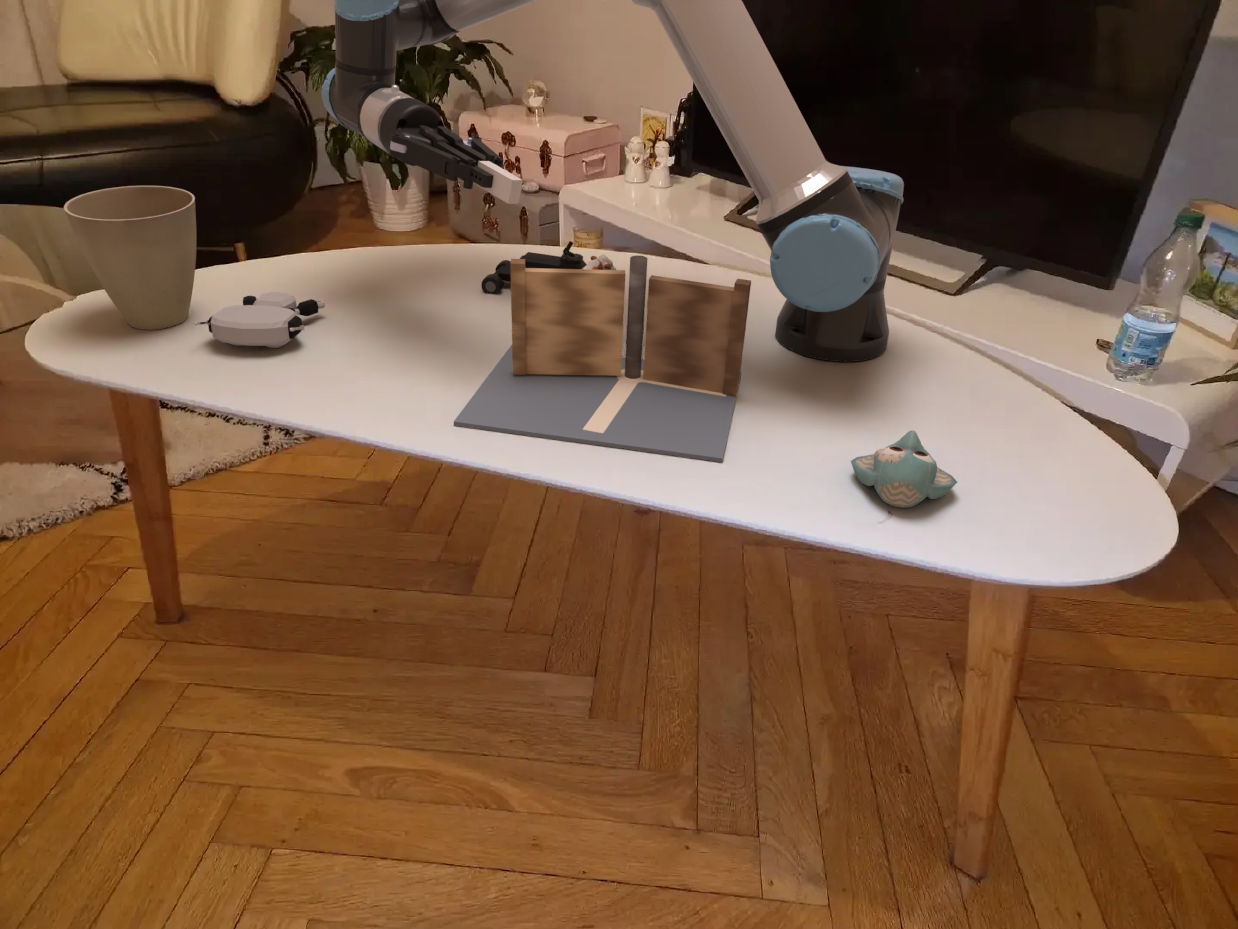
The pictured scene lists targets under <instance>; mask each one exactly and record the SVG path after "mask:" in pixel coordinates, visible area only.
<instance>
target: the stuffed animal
mask: <svg viewBox="0 0 1238 929" xmlns="http://www.w3.org/2000/svg"><path fill="white" fill-rule="evenodd" d="M850 464H851V466H852V469H853V472H854V475H855V477H856V478H857V479H858V481H859V482H860V484H862V485H865V486H867V487H871V486H874V489H875V491H876V493H877V495H878V496H879V497H880V498H881V500H882V501H883V502H884V503H885V504H888V505H890V506H893V507H896V508H904V509H906V508H913V507H915V506H916V505H918V504H919V503H921V502H923V501H924V500H925V499H926V498H929V499H930V500H935V499H936V500H938V499H941V498H942V497H944V496H945V495H947V494H948V492H950V491H951V490H952V488H954V486H955V485H956V484H958V481H957V480H956V478H955V477H954V476H953V475H952V474H950V473H948V472H946V471H944V470H943V469H941V468H939V467H938V464H937V461H936V460H935V459H934V458H933V456H932V455H931V454H930V453H929V452H928V450H926V449H925V447H924V446H923V444H922V442H921V440H920V438H919V436H918V433H917V432H916V431H915V430H913V429H912V430H911V429H910V430H909V431H907V432H906V433H905V434H904V435H903V436H902V437H901V438H900V439H899V440H898V441H896V442H894V443H892V444H890V445H887V446H886V447H884V448H879V449H876V451H875V452H874V453H873V454H869V455H868V454H867V455H862V456H857V457H855V458H853V459H852V460H850Z"/></svg>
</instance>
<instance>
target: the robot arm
mask: <svg viewBox="0 0 1238 929" xmlns="http://www.w3.org/2000/svg"><path fill="white" fill-rule="evenodd" d="M538 1H539V0H334V4H333V7H334V27H335V28H334V30H335V31H334V32H335V33H334V34H335V35H334V36H335V39H334V41H335V64H334V68H332V69H331V70H330V71H329V72H328V73H327V74H326V76H325V77H326V78H325V79H324V81H323V84H322V86H321V100H322V104H323V105H324V108H325V110H326V111H327V112H328V114H329V115H330V116H331V117H332V118H334V119H335V120H336V121H338V124H340V125H341V126H342V127H344V128H346V129H347V130H349V131H352V132H353V133H356V134H358V135H360V136H361V137H363V138H364V139H366V140H367V141H369V142H370V143H372V144H374V145H375V146H376V147H378V148H380V149H381V150H383V151H384V152H386V153H387V154H389V156H390V157H392V158H396V159H397V160H399V161H401V162H402V163H403V164H406V165H408V166H413V167H414V166H415V167H416V166H417V167H419V168H420V169H424V170H426V171H428V172H430V173H433V174H435V175H437V176H440V177H442V178H445V179H447V180H449V181H450V182H456V181H458V178H459V179H460V180H461V181H463V185H462V187H463V189H467V190H472V189H473V187H474V184H475V185H476V186H478V187H479V188H481V189H483V190H484V191H486V192H488V193H489V194H490V195H493V196H494V197H496V198H498V199H499V200H501V201H503V202H504V203H506V204H508V205H513V204H514V205H517V204H520V199H521V193H522V186H523V181H524V180H523V179H522V178H519V177H518V176H517V175H515V174H513V173H511V172H509V171H507V170H506V169H504V168H503V167H504V166H503V165H504V158H502V157H501V156H500V155H499V154H498V153H496V152H495V151H494V150H493V149H491V148H490V147H489V146H487V144H485V143H484V142H483V140H482V137H481V136H479V135H472V136H471V137H467V140H464V139H463V138H462V137H461V136H460V135H458V134H457V133H456V132H452V130H451V129H450V128H448V127H446V126H445V124H444V121H443V119H442V117H441V115H440V113H439V112H438V111H437V110H436V109H434V108H433V107H431V106H429V105H428V104H426V103H424V102H422V101H420V100H418V99H416V98H414V97H412V96H410V95H409V94H407V93H404V92H403V91H401V90H400V87H399V85H397V84H396V83H395V82H396V72H397V69H396V68H397V67H396V66H397V51H401V50H407V49H412V48H415V47H421V46H426V45H431V46H432V45H438V44H440V43H444V42H446V41H448V40H449V39H452V38H453V37H454V36H455V35H456V34H458V33H460V32H463V31H465V30H468V29H470V28H473V27H475V26H478V25H481V24H482V23H485V22H487V21H489V20H493V19H495V18H497V17H500V16H502V15H503V16H504V15H505V14H508V13H510V12H513V11H515V10H517V9H520V8H523V7H525V6H528V5H531V4H533V3H535V2H538ZM631 1H632V3H633V4H634V5H637V6H640V7H644V8H647V9H648V8H649V9H651V10H652V11H654V13H655V15H656V16H657V18H658V21H659V22H660V24H661V26H662V27H663V30H664V31H665V33H666V35H667V37H668V39H669V40H670V42H671V44H672V46H673V47H674V49H675V51H676V53H677V54H678V57H679V58H680V60H681V62H682V64H683V66H684V68H685V69H686V71H687V73H688V74H689V76H690V78H691V81H692V83H693V84H694V85H695V87H696V90H697V91H698V93H699V95H700V97H701V98H702V100H703V102H704V103H705V105H706V108H707V110H708V111H709V113H710V114H711V117H712V118H713V120H714V122H715V124H716V126H717V127H718V129H719V131H720V133H721V135H722V136H723V138H724V140H725V142H726V144H727V146H728V147H729V149H730V150H731V153H732V154H733V157H734V158H735V160H736V162H737V165H739V167H740V169H741V170H742V173H743V174H744V176H745V178H746V180H747V182H748V183H749V186H750V187H751V189H752V191H753V193H754V195H755V196H756V198H757V199H758V208H757V213H756V218H755V224H756V227H757V228H758V229H759V231H760V233H761V235H762V237H763V238H764V240H765V241H766V245H767V246H768V247H769V250H770V252H771V253H770V258H769V265H770V266H769V267H770V268H769V269H770V274H771V278H772V280H773V283H774V285H775V287H776V288H777V290H778V291H779V292H780V294H781V295H782V296H783V297H784V298H785V301H784V303H783V305H782V308H781V310H780V311H779V313H778V316H777V319H776V325H775V334H774V335H775V337H776V339H777V341H778V342H779V343H780V344H781V345H783V347H785V348H787V349H788V350H791V351H792V352H795V353H798V354H800V355H803V356H806V357H810V358H814V359H817V360H823V361H824V360H825V361H829V362H830V361H831V362H845V363H846V362H847V363H848V362H850V363H851V362H860V361H861V362H863V361H868V360H870V359H875V358H877V357H879V356H881V355H882V354H883V353H884V352H885V351H886V350H887V345H888V339H889V336H890V328H889V320H888V315H887V314H888V313H887V308H886V307H887V306H886V298H885V288H886V287H885V286H886V281H887V277H888V271H889V268H890V267H889V266H890V260H891V255H892V250H893V246H894V241H895V235H896V230H897V225H898V221H899V215H900V210H901V205H902V204H903V202H904V197H903V195H904V187H905V183H904V181H903V178H902V177H900V176H899V175H897V174H895V173H891V172H887V171H884V170H877V169H870V168H865V167H863V168H862V167H856V166H845V165H838V164H834V163H831V162H829V161H828V160H827V159H826V158H825V156H824V154H823V152H822V150H821V148H820V146H819V145H818V142H817V141H816V139H815V137H814V135H813V134H812V132H811V129H810V128H809V126H808V124H807V122H806V120H805V118H804V116H803V114H802V112H801V111H800V109H799V107H798V104H797V102H796V101H795V98H794V97H793V95H792V93H791V92H790V89H789V88H788V86H787V84H786V81H785V80H784V78H783V76H782V74H781V72H780V70H779V68H778V66H777V64H776V63H775V61H774V59H773V57H772V55H771V53H770V51H769V50H768V47H767V46H766V44H765V42H764V40H763V38H762V36H761V35H760V33H759V31H758V29H757V27H756V25H755V23H754V21H753V19H752V18H751V16H750V13H749V12H748V10H747V8H746V5H745V4H744V2H743V1H742V0H631Z"/></svg>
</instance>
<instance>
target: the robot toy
mask: <svg viewBox="0 0 1238 929" xmlns="http://www.w3.org/2000/svg"><path fill="white" fill-rule="evenodd" d="M325 307H326V303H325V301H321V300H315V299H312V298H311V299H307V300H303V301H301V302H298V305H297V301H296V297H295V295H294V294H291V293H287V292H277V291H276V292H263V293H261V294H260V296H258V297H257V296H254V295H246V296H243V298H242V305H232V306H226V307H223V308H222V309H220V310H218V311H217V312H216V313H215V314H213V315H212V316H210V317H209V318H208V319H207V320H206V321H205V320H204V321H195V322H194V326H200V325H208V326H207V327H208V332H209V333H211V334H212V337H213V338H215V339H216V340H218V341H219V342H221V343H225V344H230V345H233V346H235V347H240V346H249V347H250V346H252V347H253V346H255V347H256V346H257V347H260V346H262V347H265V346H266V347H267V348H271V349H278V348H282V347H283V346H285V345H287V343H290V341H291V340H292V339H295V338H296V337H297V336H298V335H299V334H300V333H301V332H302V331H305V325H303V321H302V318H301V317H300V316H303V317H311V316H313V315H315V314H318V313H319V309H323V308H325ZM298 315H299V316H298Z"/></svg>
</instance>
